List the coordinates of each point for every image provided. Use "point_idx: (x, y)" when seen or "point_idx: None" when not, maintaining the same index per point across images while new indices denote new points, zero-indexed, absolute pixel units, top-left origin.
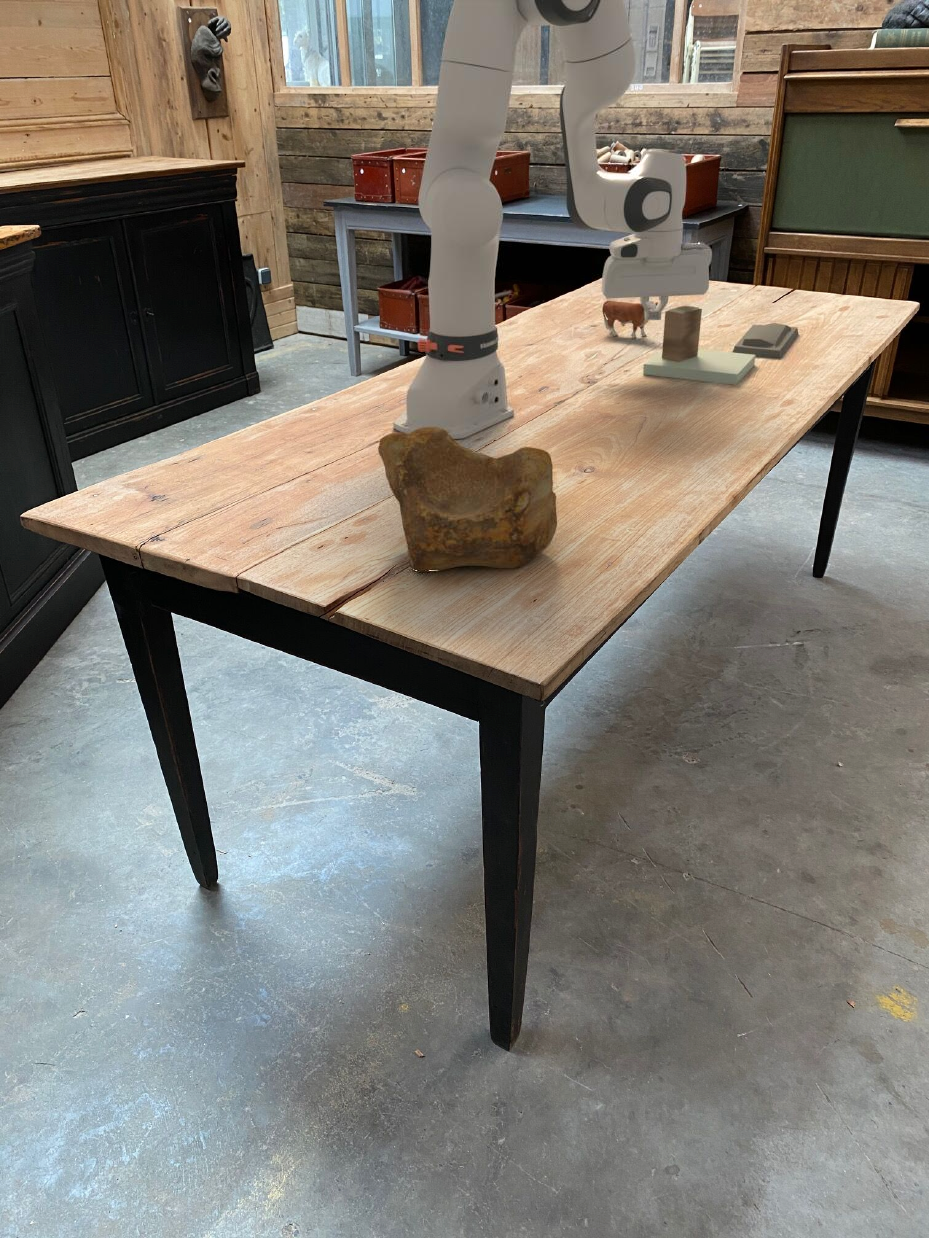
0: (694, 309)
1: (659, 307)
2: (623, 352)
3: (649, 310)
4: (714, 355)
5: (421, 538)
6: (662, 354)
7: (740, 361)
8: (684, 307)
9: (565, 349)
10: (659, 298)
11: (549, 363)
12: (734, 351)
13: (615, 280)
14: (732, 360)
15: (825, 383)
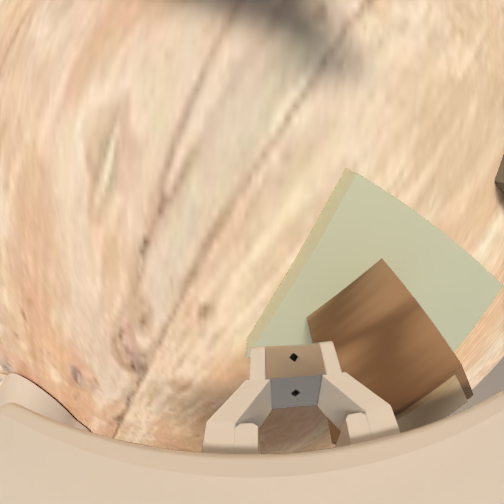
0: (442, 418)
1: (330, 409)
2: (202, 111)
3: (268, 414)
4: (443, 291)
5: None
6: (309, 325)
7: (460, 331)
8: (429, 410)
9: (44, 100)
10: (343, 435)
11: (30, 234)
12: (501, 184)
13: None
14: (453, 326)
15: (498, 354)
